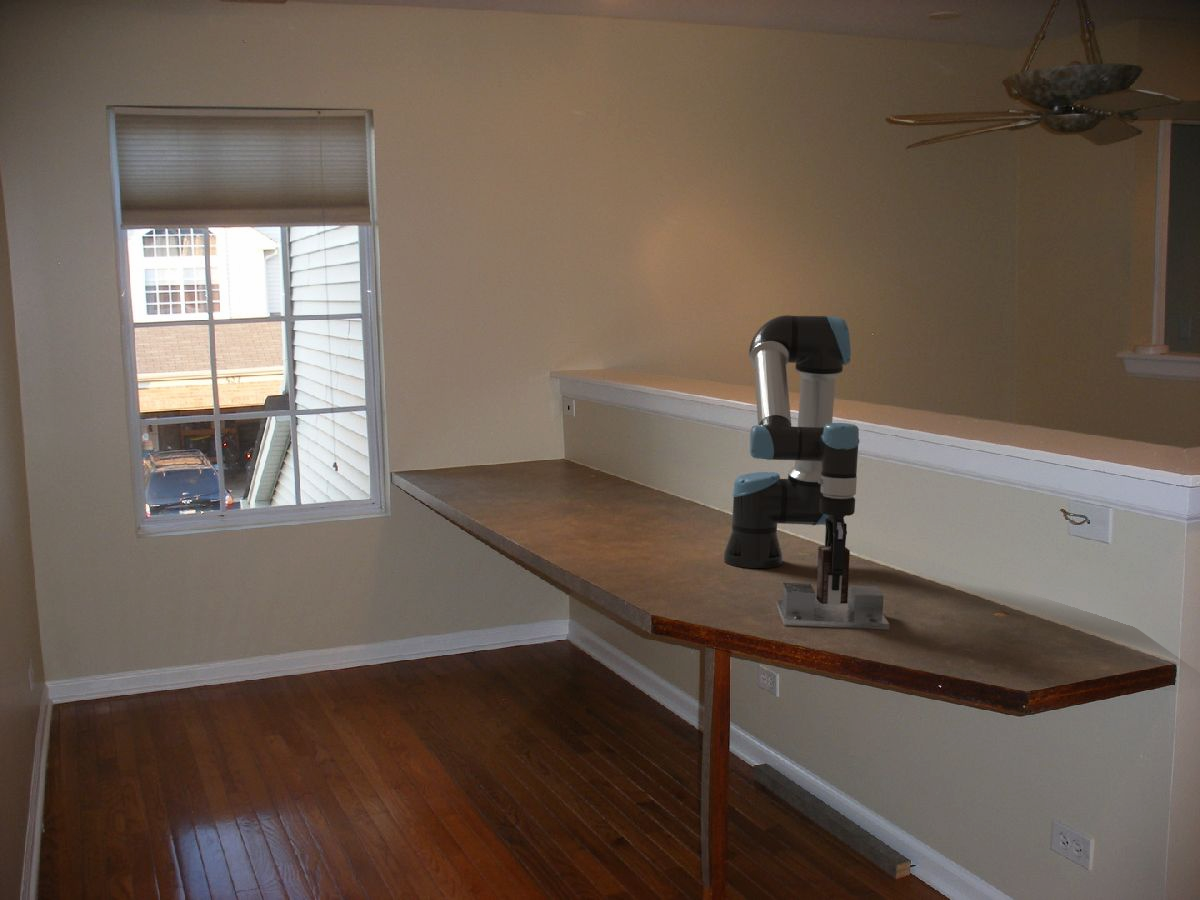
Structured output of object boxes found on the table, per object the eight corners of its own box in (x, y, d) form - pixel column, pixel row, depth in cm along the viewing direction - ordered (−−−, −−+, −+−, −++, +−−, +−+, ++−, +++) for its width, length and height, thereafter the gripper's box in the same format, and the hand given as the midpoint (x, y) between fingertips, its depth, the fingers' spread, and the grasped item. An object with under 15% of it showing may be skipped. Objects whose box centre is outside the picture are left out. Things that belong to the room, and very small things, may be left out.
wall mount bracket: (776, 604, 259) (777, 578, 258) (874, 608, 258) (876, 581, 257) (784, 625, 243) (785, 596, 243) (889, 629, 242) (890, 600, 242)
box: (841, 598, 253) (844, 545, 251) (847, 604, 248) (851, 550, 247) (814, 598, 252) (817, 545, 250) (820, 604, 248) (823, 550, 246)
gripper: (814, 487, 256) (809, 589, 259) (826, 502, 238) (820, 611, 242) (848, 489, 256) (842, 591, 259) (862, 503, 238) (856, 612, 241)
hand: (831, 600), depth 250 cm, fingers closed on box, 5 cm apart
